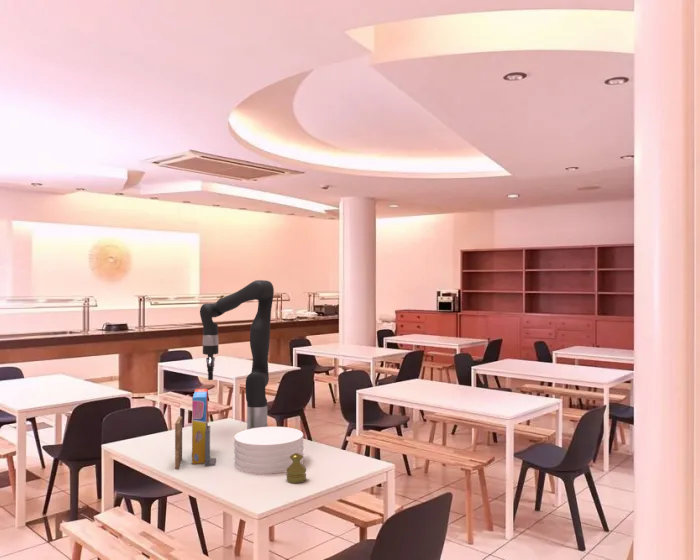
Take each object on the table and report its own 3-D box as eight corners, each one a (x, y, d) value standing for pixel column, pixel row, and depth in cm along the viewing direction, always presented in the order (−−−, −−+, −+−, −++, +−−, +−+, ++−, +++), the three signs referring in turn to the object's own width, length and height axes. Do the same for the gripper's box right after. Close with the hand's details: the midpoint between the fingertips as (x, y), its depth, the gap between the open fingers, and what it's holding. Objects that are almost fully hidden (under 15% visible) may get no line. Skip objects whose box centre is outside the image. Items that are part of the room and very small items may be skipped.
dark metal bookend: (216, 459, 234) (216, 425, 234) (215, 465, 225) (215, 430, 225) (206, 459, 233) (206, 426, 233) (205, 466, 224) (205, 431, 225)
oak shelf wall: (182, 459, 233) (182, 416, 233) (179, 468, 221) (179, 423, 221) (178, 459, 233) (178, 416, 233) (175, 469, 221) (175, 423, 221)
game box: (205, 463, 228) (205, 397, 228) (191, 464, 226) (192, 397, 227) (207, 449, 248) (207, 388, 248) (195, 449, 247) (195, 388, 247)
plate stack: (230, 456, 237) (230, 429, 238) (294, 450, 247) (294, 424, 247) (239, 478, 211) (239, 447, 211) (310, 469, 220) (310, 440, 220)
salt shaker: (289, 484, 203) (289, 457, 203) (283, 478, 210) (283, 451, 210) (309, 481, 206) (308, 454, 206) (302, 475, 213) (302, 449, 213)
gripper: (217, 345, 266) (217, 381, 265) (219, 342, 279) (219, 377, 278) (201, 345, 264) (201, 382, 264) (203, 343, 277) (203, 377, 277)
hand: (210, 379), depth 271 cm, fingers closed
